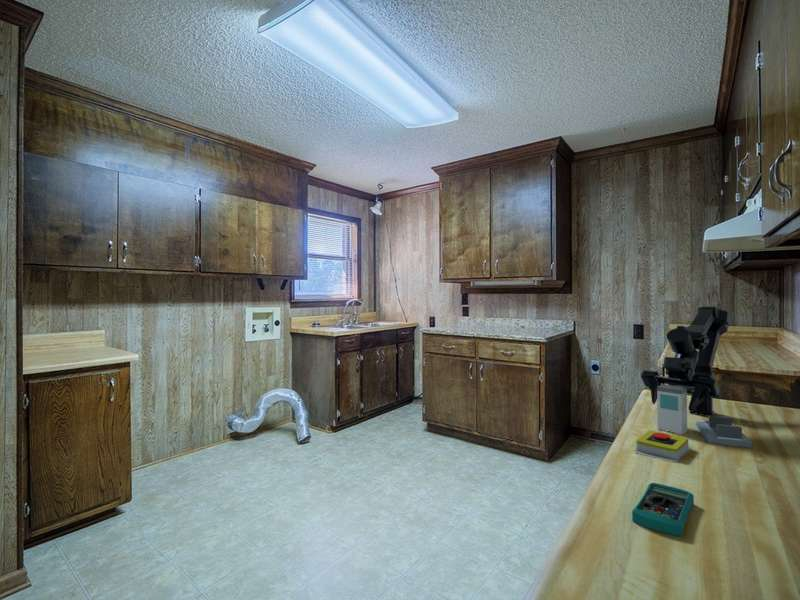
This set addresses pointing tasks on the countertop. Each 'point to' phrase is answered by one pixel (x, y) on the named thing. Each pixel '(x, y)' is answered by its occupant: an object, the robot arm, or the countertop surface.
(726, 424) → the end clamps
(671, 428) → the block
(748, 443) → the rail board
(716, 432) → the steel rail
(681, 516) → the digital multimeter
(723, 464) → the countertop surface
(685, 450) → the emergency button
